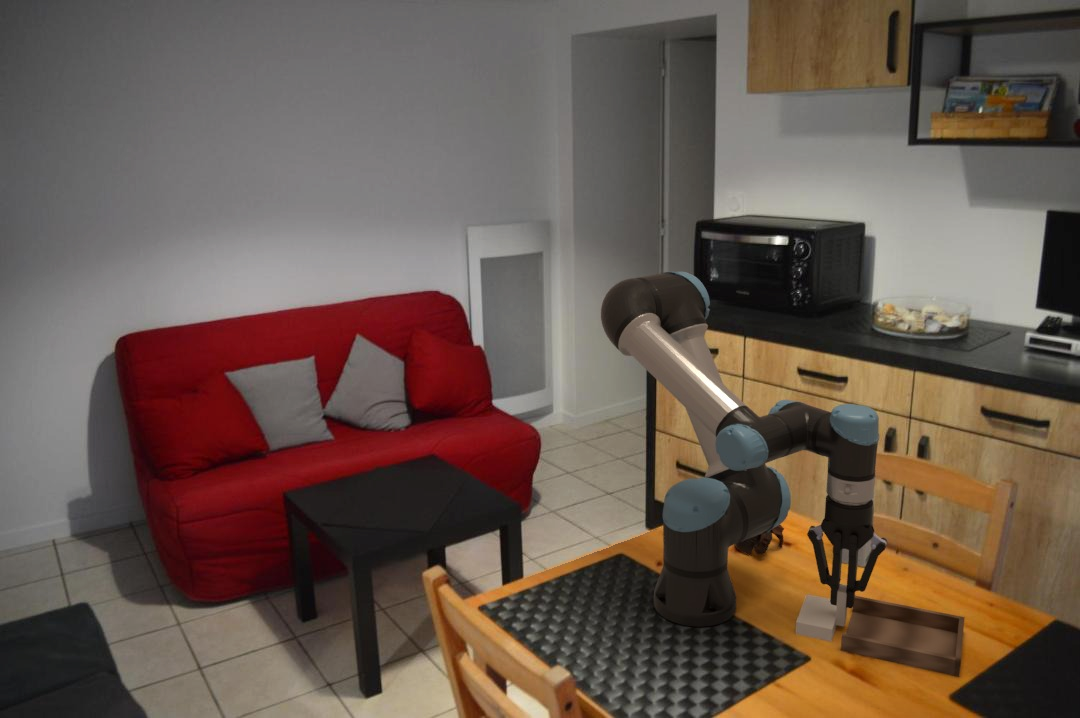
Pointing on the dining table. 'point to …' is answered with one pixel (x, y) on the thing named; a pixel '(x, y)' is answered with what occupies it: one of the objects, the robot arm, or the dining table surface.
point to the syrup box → (860, 550)
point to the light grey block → (817, 618)
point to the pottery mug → (760, 541)
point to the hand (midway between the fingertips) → (840, 621)
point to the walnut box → (905, 635)
